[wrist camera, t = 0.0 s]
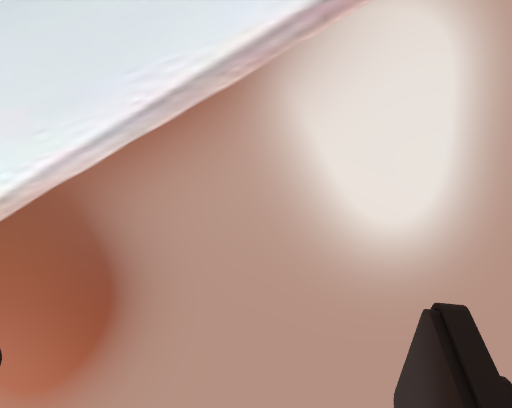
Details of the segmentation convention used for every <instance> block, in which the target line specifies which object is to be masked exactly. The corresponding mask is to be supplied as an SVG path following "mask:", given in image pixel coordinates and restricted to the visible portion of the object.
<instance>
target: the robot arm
mask: <svg viewBox="0 0 512 408" xmlns="http://www.w3.org/2000/svg"><path fill="white" fill-rule="evenodd" d="M1 361H2V355H1V350H0V365H1ZM394 408H512V384H511V382H510V381H508V379H506V378H505V377H503V376H500V375H499V373H498V371H497V369H496V367H495V365H494V362H493V360H492V358H491V356H490V354H489V352H488V350H487V348H486V346H485V343H484V341H483V339H482V337H481V335H480V333H479V331H478V328H477V327H476V324H475V322H474V320H473V318H472V316H471V314H470V311H469V310H468V308H467V307H466V306H464V305H454V304H445V303H434V304H433V305H432V307H431V309H424V310H423V312H422V314H421V317H420V320H419V323H418V326H417V329H416V332H415V334H414V337H413V341H412V343H411V346H410V349H409V352H408V355H407V358H406V361H405V363H404V366H403V369H402V372H401V375H400V378H399V381H398V384H397V387H396V389H395V393H394Z"/></svg>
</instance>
